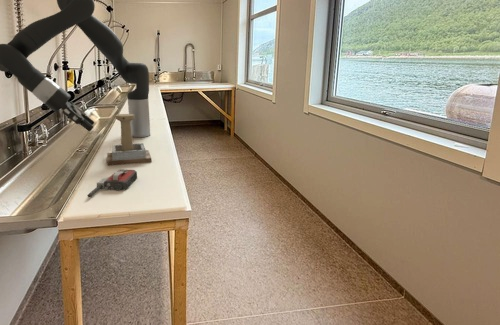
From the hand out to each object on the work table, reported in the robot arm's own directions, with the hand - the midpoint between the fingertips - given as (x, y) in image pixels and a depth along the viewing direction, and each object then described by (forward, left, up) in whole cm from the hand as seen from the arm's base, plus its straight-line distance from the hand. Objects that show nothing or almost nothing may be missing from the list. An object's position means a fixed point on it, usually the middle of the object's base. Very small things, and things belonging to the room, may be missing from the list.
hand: (92, 126), depth 133 cm
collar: (0, +12, -11) cm, 16 cm away
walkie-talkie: (+29, +6, -13) cm, 33 cm away
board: (0, +12, -13) cm, 17 cm away
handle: (0, +11, -12) cm, 16 cm away
